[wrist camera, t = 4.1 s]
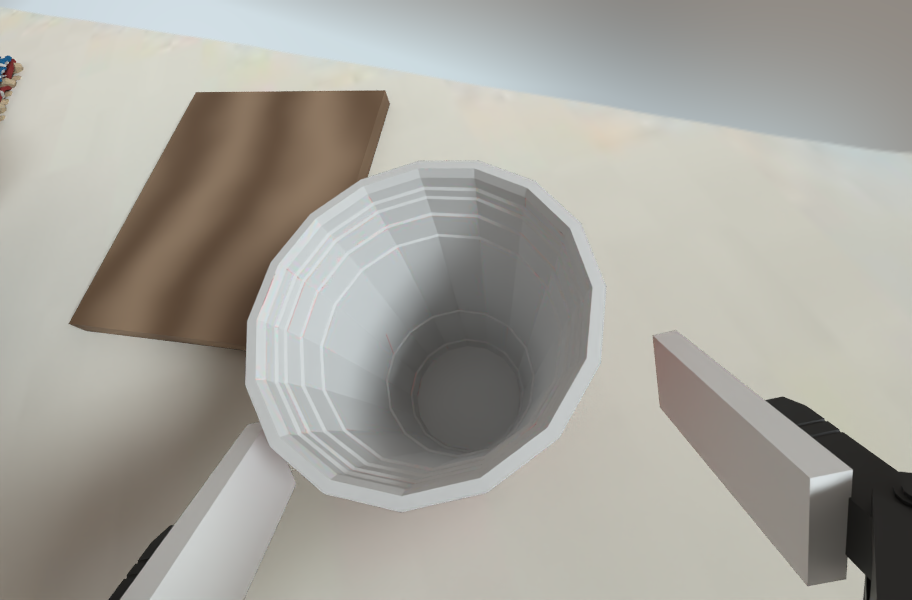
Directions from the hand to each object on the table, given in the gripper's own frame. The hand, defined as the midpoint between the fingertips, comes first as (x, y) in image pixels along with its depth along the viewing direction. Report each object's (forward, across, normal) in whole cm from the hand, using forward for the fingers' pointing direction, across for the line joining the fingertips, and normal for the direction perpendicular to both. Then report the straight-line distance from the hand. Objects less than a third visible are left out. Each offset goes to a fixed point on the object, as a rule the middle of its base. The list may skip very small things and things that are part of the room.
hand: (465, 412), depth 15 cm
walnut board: (+19, -13, +8) cm, 24 cm away
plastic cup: (+8, -1, -4) cm, 9 cm away
